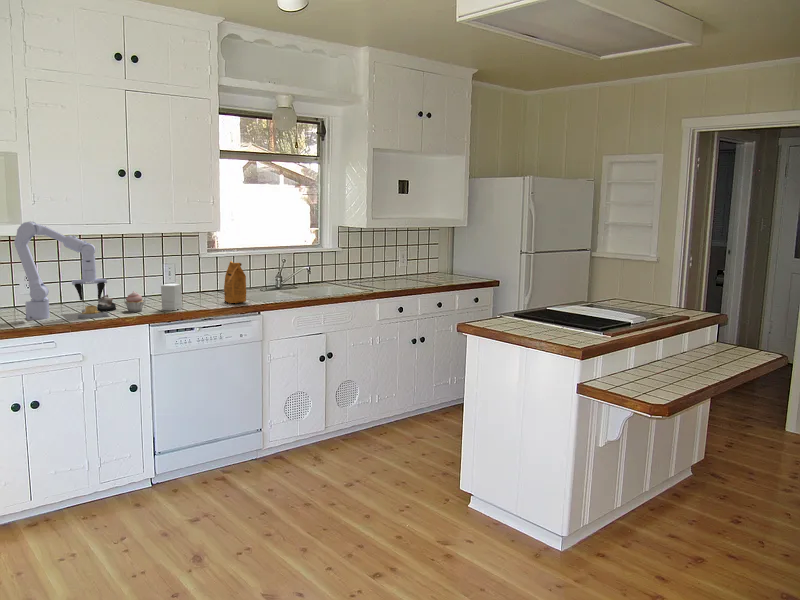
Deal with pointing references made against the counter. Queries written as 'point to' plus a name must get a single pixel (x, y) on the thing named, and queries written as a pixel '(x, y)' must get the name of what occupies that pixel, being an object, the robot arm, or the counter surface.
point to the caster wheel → (106, 304)
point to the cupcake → (134, 302)
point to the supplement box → (171, 296)
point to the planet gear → (90, 310)
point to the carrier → (85, 315)
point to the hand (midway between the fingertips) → (90, 299)
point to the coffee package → (235, 284)
